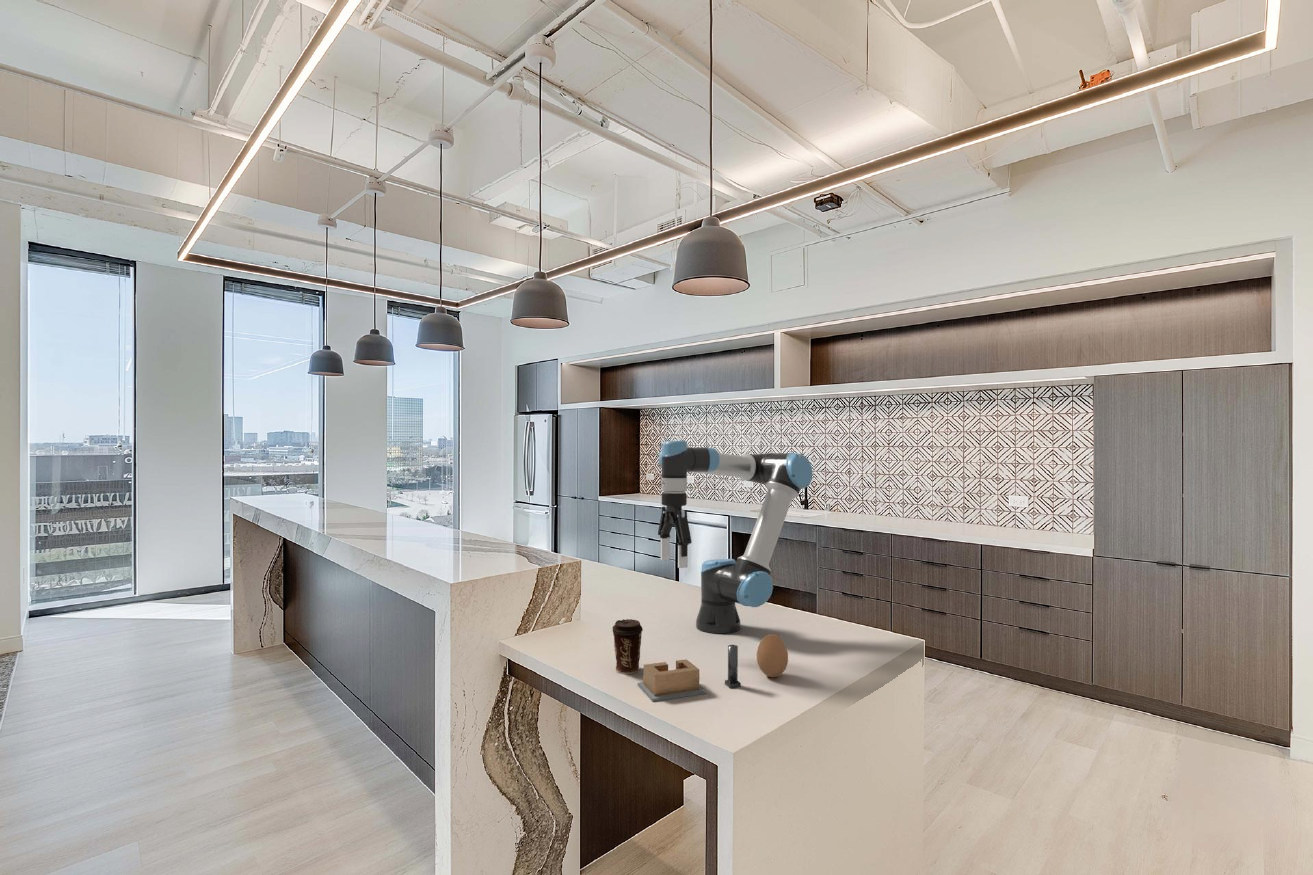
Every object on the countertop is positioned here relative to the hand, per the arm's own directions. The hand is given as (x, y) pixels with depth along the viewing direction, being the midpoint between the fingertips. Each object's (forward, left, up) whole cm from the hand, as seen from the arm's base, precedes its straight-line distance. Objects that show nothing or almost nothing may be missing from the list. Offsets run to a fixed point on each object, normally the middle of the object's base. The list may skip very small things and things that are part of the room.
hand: (673, 563), depth 183 cm
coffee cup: (+17, +8, -27) cm, 33 cm away
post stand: (-5, +28, -27) cm, 39 cm away
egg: (-18, +26, -27) cm, 42 cm away
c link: (+11, +25, -26) cm, 38 cm away
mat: (+11, +25, -27) cm, 38 cm away
